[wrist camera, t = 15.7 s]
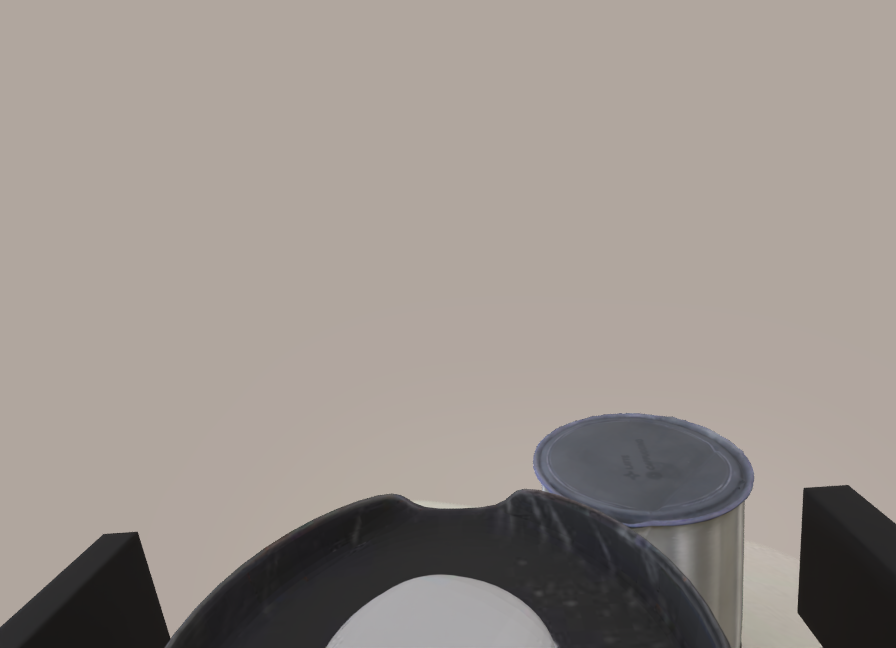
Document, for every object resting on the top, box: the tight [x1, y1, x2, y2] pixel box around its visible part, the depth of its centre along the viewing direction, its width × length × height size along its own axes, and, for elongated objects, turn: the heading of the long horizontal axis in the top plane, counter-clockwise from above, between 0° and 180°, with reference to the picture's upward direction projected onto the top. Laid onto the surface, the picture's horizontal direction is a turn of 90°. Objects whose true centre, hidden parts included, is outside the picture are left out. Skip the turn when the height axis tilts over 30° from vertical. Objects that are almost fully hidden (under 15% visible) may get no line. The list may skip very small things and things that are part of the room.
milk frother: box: [533, 413, 754, 648], centre depth 28 cm, size 14×16×15 cm
